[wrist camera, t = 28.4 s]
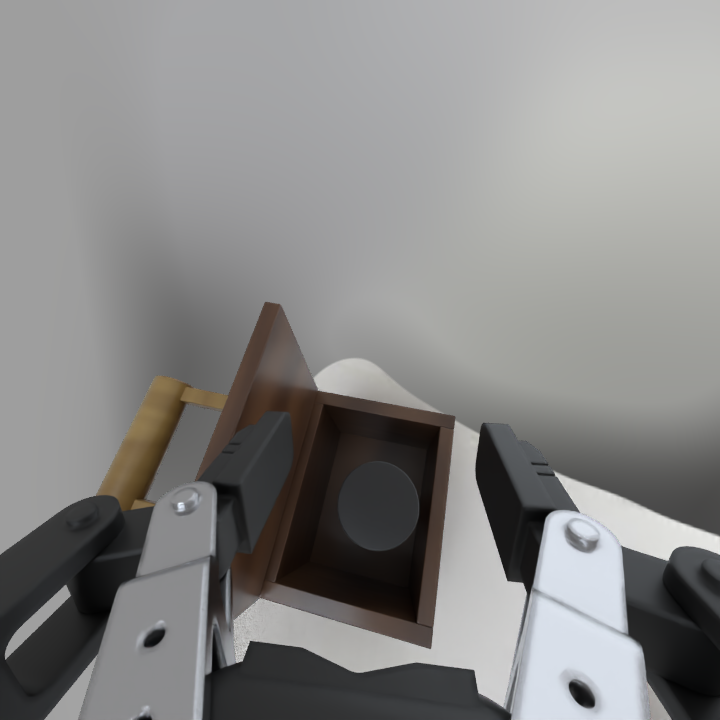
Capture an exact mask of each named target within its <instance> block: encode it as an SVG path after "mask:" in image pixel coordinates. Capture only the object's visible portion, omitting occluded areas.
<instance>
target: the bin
mask: <svg viewBox="0 0 720 720" xmlns="http://www.w3.org/2000/svg"><path fill="white" fill-rule="evenodd" d="M454 425H455V416H451V415H446V414H441V413H436V412H430V411H425V410H419V409H414V408H408V407H403V406H398V405H392V404H387V403H381V402H376V401H370V400H365V399H360V398H354V397H349V396H343V395H338V394H333V393H327V392H322V391H317V394H316V398H315V401H314V405H313V408H312V412H311V415H310V419H309V423H308V426H307V430H306V433H305V437H304V440H303V444H302V447H301V451H300V454H299V458H298V461H297V465H296V469H295V472H294V476H293V479H292V483H291V486H290V490H289V493H288V497H287V500H286V504H285V507H284V511H283V514H282V518H281V522H280V525H279V529H278V532H277V536H276V539H275V543H274V546H273V550H272V553H271V557H270V560H269V564H268V568H267V571H266V575H265V578H264V582H263V585H262V589H261V592H260V596H259V598H263V599H266V600H269V601H273V602H276V603H279V604H282V605H286V606H289V607H292V608H296V609H299V610H302V611H306V612H309V613H312V614H316V615H319V616H322V617H326V618H329V619H332V620H336V621H339V622H342V623H346V624H349V625H352V626H356V627H359V628H362V629H366V630H369V631H372V632H376V633H379V634H382V635H386V636H389V637H392V638H396V639H399V640H402V641H406V642H409V643H412V644H416V645H419V646H422V647H425V648H429V649H431V645H432V635H433V625H434V615H435V606H436V596H437V587H438V577H439V567H440V558H441V548H442V539H443V529H444V520H445V510H446V500H447V491H448V481H449V472H450V462H451V453H452V443H453V433H454V430H453V429H454ZM374 461H381V462H387V463H390V464H392V465H395V466H396V467H398V468H400V469H401V470H402V471H404V472H405V473H406V474H407V475H408V477H409V478H410V479H411V481H412V483H413V484H414V486H415V489H416V491H417V495H418V500H419V506H420V512H419V518H418V521H417V524H416V526H415V528H414V530H413V531H412V533H411V534H410V536H409V537H408V538H407V539H406V540H405V541H404V542H403V543H402V544H400V545H399V546H397V547H395V548H393V549H390V550H386V551H372V550H368V549H365V548H363V547H361V546H359V545H357V544H356V543H355V542H353V541H352V540H351V539H350V538H349V537H348V535H347V534H346V533H345V531H344V529H343V528H342V525H341V523H340V520H339V516H338V510H337V500H338V494H339V491H340V488H341V486H342V483H343V482H344V480H345V479H346V477H347V476H348V475H349V474H350V473H351V472H352V471H353V470H354V469H355V468H357V467H358V466H360V465H362V464H365V463H368V462H374Z"/></svg>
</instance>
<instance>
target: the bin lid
mask: <svg viewBox="0 0 720 720" xmlns="http://www.w3.org/2000/svg"><path fill="white" fill-rule="evenodd" d="M317 391H318V389H317V386H316V384H315V382H314V379H313V377H312V375H311V373H310V370H309V368H308V366H307V363H306V361H305V359H304V357H303V354H302V352H301V350H300V347H299V345H298V343H297V341H296V338H295V336H294V334H293V331H292V329H291V327H290V324H289V322H288V320H287V318H286V315H285V313H284V311H283V308H282V306H281V305H280V304H275V303H270V302H265V303H264V306H263V308H262V311H261V314H260V316H259V319H258V321H257V324H256V326H255V329H254V332H253V334H252V336H251V339H250V342H249V344H248V347H247V349H246V352H245V354H244V357H243V360H242V362H241V364H240V367H239V369H238V372H237V375H236V377H235V380H234V382H233V385H232V387H231V390H230V392H229V395H224V394H219V393H214V392H210V391H205V390H200V389H195V388H193V387H192V386H191V385H189V384H187V383H184V382H182V381H180V380H177V379H174V378H170V377H166V376H156V377H155V378H154V380H153V382H152V384H151V386H150V388H149V390H148V392H147V394H146V396H145V398H144V400H143V402H142V404H141V406H140V408H139V410H138V412H137V414H136V416H135V418H134V420H133V422H132V424H131V426H130V428H129V430H128V432H127V434H126V436H125V438H124V440H123V442H122V444H121V446H120V448H119V450H118V452H117V454H116V456H115V458H114V460H113V462H112V464H111V466H110V468H109V470H108V472H107V474H106V476H105V478H104V480H103V482H102V484H101V486H100V488H99V490H98V492H97V494H96V496H99V495H110V496H114V497H116V498H117V499H118V500H119V503H120V506H121V509H122V511H127V510H133V509H139V508H145V507H151V506H155V504H156V503H157V502H155V501H150V500H147V496H148V494H149V492H150V489H151V487H152V485H153V483H154V480H155V478H156V476H157V474H158V471H159V469H160V467H161V464H162V462H163V460H164V457H165V455H166V453H167V451H168V449H169V446H170V444H171V441H172V439H173V437H174V435H175V433H176V430H177V428H178V426H179V423H180V421H181V419H182V417H183V414H184V412H185V410H186V408H187V405H193V406H198V407H202V408H207V409H212V410H216V411H221V412H222V413H221V415H220V418H219V420H218V423H217V425H216V428H215V430H214V433H213V435H212V438H211V441H210V443H209V446H208V448H207V451H206V453H205V456H204V458H203V461H202V464H201V466H200V468H199V471H198V474H197V476H196V479H195V481H194V482H196V481H197V480H198V479H199V478H200V476H201V475H202V474H203V473H204V472H205V470H206V469H207V468H208V467H209V466H210V464H211V463H212V462H213V461H214V460H215V458H216V457H217V456H218V455H219V454H220V453H222V450H223V449H224V448H225V446H226V445H228V444H229V442H230V440H231V439H232V438H233V437H234V435H235V434H236V433H237V432H239V431H240V430H242V429H243V428H245V427H247V426H248V425H256V423H257V422H258V421H259V419H260V418H261V417H262V416H263V414H264V413H265V412H266V411H279V412H289V413H290V416H291V425H292V436H293V447H294V458H293V464H292V468H291V470H290V472H289V475H288V477H287V479H286V481H285V483H284V485H283V487H282V490H281V492H280V494H279V496H278V498H277V500H276V502H275V505H274V507H273V509H272V511H271V513H270V515H269V517H268V520H267V522H266V524H265V526H264V528H263V530H262V532H261V535H260V537H259V539H258V541H257V543H256V545H255V547H254V550H253V552H252V554H247V553H236V555H235V557H234V559H233V561H232V563H231V568H232V585H233V620H234V619H236V618H237V617H238V616H239V615H240V614H242V613H243V612H244V611H245V610H246V609H248V608H249V607H250V606H251V605H252V604H254V603H255V602H256V601H257V600H258V599H259V596H260V592H261V589H262V585H263V582H264V578H265V575H266V571H267V568H268V564H269V560H270V557H271V553H272V550H273V546H274V543H275V539H276V536H277V532H278V529H279V525H280V522H281V518H282V514H283V511H284V507H285V504H286V500H287V497H288V493H289V490H290V486H291V483H292V479H293V476H294V472H295V469H296V465H297V461H298V458H299V454H300V451H301V447H302V444H303V440H304V437H305V433H306V430H307V426H308V423H309V419H310V415H311V412H312V408H313V405H314V401H315V398H316V394H317Z"/></svg>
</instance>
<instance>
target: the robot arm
mask: <svg viewBox="0 0 720 720" xmlns="http://www.w3.org/2000/svg"><path fill="white" fill-rule="evenodd" d="M293 458H294V447H293V436H292V425H291V416H290V413H289V412H279V411H266V412H265V413H264V414H263V416H262V417H261V418H260V419H259V421H258V422H257V423H256V425H248V426H247V427H245V428H243V429H242V430H240V431H239V432H237V433H236V434H235V435H234V437H233V438H232V439H231V440H230V442H229V444H228V445H226V446H225V448H224V449H223V450H222V453H220V454H219V455H218V456H217V457H216V458H215V460H214V461H213V462H212V463H211V464H210V466H209V467H208V468H207V469H206V470H205V472H204V473H203V474H202V475H201V476H200V478H199V479H198V480H197V481H196V482H189V483H185V484H182V485H180V486H177V487H175V488H173V489H171V490H170V491H168V492H167V493H165V494H164V495H163V496H162V497H161V498H160V499H159V500H158V501H157V503H156V504H155V506H151V507H145V508H139V509H133V510H127V511H122V509H121V506H120V503H119V500H118V499H117V498H116V497H114V496H110V495H99V496H93V497H89V498H86V499H83V500H81V501H78V502H76V503H74V504H72V505H70V506H68V507H66V508H65V509H63V510H62V511H60V512H59V513H57V514H56V515H54V516H53V517H52V518H50V519H49V520H48V521H46V522H45V523H43V524H42V525H41V526H39V527H38V528H37V529H35V530H34V531H32V532H31V533H30V534H28V535H27V536H26V537H24V538H23V539H21V540H20V541H19V542H17V543H16V544H14V545H13V546H12V547H10V548H9V549H8V550H6V551H5V552H4V553H2V554H1V555H0V720H44V719H45V718H46V717H47V715H48V714H49V713H50V712H51V711H52V709H53V708H54V707H55V706H56V704H57V703H58V702H59V701H60V699H61V698H62V697H63V696H64V694H65V693H66V692H67V691H68V690H69V688H70V687H71V686H72V685H73V683H74V682H75V681H76V680H77V679H78V677H79V676H80V675H81V674H82V672H83V671H84V670H85V669H86V668H87V666H88V665H89V664H90V663H91V662H92V660H93V659H94V658H95V657H96V655H97V654H98V656H97V659H96V663H95V666H94V669H93V672H92V675H91V679H90V682H89V685H88V689H87V692H86V695H85V699H84V702H83V705H82V708H81V712H80V715H79V718H78V720H651V716H650V707H649V698H648V689H647V681H648V683H649V685H650V686H651V688H652V689H653V691H654V692H655V694H656V695H657V697H658V699H659V700H660V702H661V703H662V705H663V706H664V708H665V709H666V711H667V713H668V714H669V716H670V717H671V719H672V720H720V555H718V554H716V553H714V552H711V551H708V550H705V549H701V548H696V547H688V546H686V547H679V548H676V549H675V550H674V551H673V552H672V554H671V556H670V558H669V561H666V560H663V559H659V558H656V557H653V556H650V555H647V554H644V553H640V552H637V551H634V550H631V549H628V548H625V547H623V546H621V545H620V543H619V541H618V539H617V538H616V537H615V535H614V534H613V533H612V532H611V531H610V530H609V529H608V528H607V527H605V526H604V525H603V524H601V523H600V522H598V521H597V520H595V519H593V518H591V517H589V516H587V515H585V514H582V513H580V512H579V510H578V509H577V507H576V506H575V504H574V503H573V501H572V500H571V498H570V496H569V495H568V493H567V492H566V490H565V489H564V487H563V486H562V484H561V483H560V481H559V480H558V478H557V477H555V473H554V472H553V470H552V469H551V467H550V466H548V463H547V461H546V460H545V458H544V457H543V455H542V453H541V452H540V451H539V450H538V449H536V448H535V447H534V446H532V445H531V444H530V443H528V442H527V441H518V440H517V438H516V436H515V434H514V433H513V431H512V429H511V428H510V426H509V425H508V424H496V423H483V424H482V426H481V430H480V437H479V444H478V451H477V458H476V468H475V470H476V481H477V485H478V488H479V491H480V494H481V498H482V501H483V504H484V507H485V510H486V514H487V517H488V520H489V523H490V526H491V530H492V533H493V536H494V539H495V542H496V546H497V549H498V552H499V555H500V558H501V562H502V565H503V568H504V571H505V574H506V578H507V581H512V582H522V583H523V584H524V586H525V589H526V592H527V596H526V600H525V604H524V609H523V614H522V619H521V624H520V629H519V634H518V639H517V644H516V649H515V654H514V659H513V664H512V669H511V674H510V679H509V684H508V689H507V693H506V697H505V702H504V706H503V707H502V706H500V705H498V704H497V703H495V702H494V701H492V700H490V699H489V698H487V697H485V696H483V695H481V694H479V693H478V690H477V684H476V678H475V672H474V670H469V669H461V668H454V667H446V666H438V665H431V664H423V663H411V664H406V665H401V666H396V667H390V668H385V669H380V670H374V671H369V672H364V673H354V672H352V671H349V670H347V669H345V668H343V667H341V666H339V665H337V664H335V663H333V662H331V661H329V660H327V659H325V658H322V657H320V656H318V655H316V654H314V653H312V652H310V651H308V650H306V649H304V648H301V647H293V646H285V645H278V644H270V643H262V642H255V641H250V643H249V646H248V649H247V651H246V654H245V657H244V659H243V662H239V663H236V659H235V650H234V626H233V585H232V568H231V563H232V561H233V559H234V557H235V555H236V553H247V554H252V552H253V550H254V547H255V545H256V543H257V541H258V539H259V537H260V535H261V532H262V530H263V528H264V526H265V524H266V522H267V520H268V517H269V515H270V513H271V511H272V509H273V507H274V505H275V502H276V500H277V498H278V496H279V494H280V492H281V490H282V487H283V485H284V483H285V481H286V479H287V477H288V475H289V472H290V470H291V468H292V464H293ZM64 585H67V587H68V590H69V592H70V594H71V596H70V597H69V598H68V599H67V600H66V601H65V602H64V603H63V604H62V605H61V606H60V607H59V608H58V609H57V610H56V611H55V612H54V613H53V614H52V615H51V616H50V617H49V618H48V619H47V620H46V621H45V622H44V623H43V624H42V625H41V626H40V627H39V628H38V629H37V630H36V631H35V632H34V633H32V634H31V636H29V637H28V638H27V640H25V641H24V642H23V644H21V645H20V646H19V647H18V648H17V649H16V650H15V651H14V652H13V653H12V654H11V655H10V656H9V657H8V658H7V659H6V660H5V650H6V647H7V645H8V643H9V641H10V639H11V638H12V636H13V635H14V633H15V632H16V631H17V630H18V629H19V628H20V627H21V626H22V625H23V624H24V623H25V622H26V621H27V620H28V619H29V618H30V617H31V616H32V615H33V614H34V613H35V612H37V611H38V610H39V609H40V608H41V607H42V606H43V605H44V604H45V603H46V602H47V601H48V600H49V599H51V598H52V597H53V596H54V595H55V594H56V593H57V592H58V591H59V590H60V589H61V588H62V587H63V586H64Z"/></svg>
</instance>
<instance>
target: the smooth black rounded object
mask: <svg viewBox="0 0 720 720" xmlns="http://www.w3.org/2000/svg"><path fill="white" fill-rule="evenodd" d="M337 510H338V516H339V520H340V523H341V525H342V528H343V529H344V531H345V533H346V534H347V535H348V537H349V538H350V539H351V540H352V541H353V542H355V543H356V544H357V545H359V546H361V547H363V548H365V549H368V550H372V551H386V550H390V549H393V548H395V547H397V546H399V545H400V544H402V543H403V542H404V541H405V540H406V539H407V538H408V537H409V536H410V534H411V533H412V531H413V530H414V528H415V526H416V524H417V521H418V518H419V512H420V506H419V500H418V495H417V491H416V489H415V486H414V484H413V483H412V481H411V479H410V478H409V477H408V475H407V474H406V473H405V472H404V471H402V470H401V469H400V468H398V467H396V466H395V465H392V464H390V463H387V462H381V461H374V462H368V463H365V464H362V465H360V466H358V467H357V468H355V469H354V470H353V471H352V472H351V473H350V474H349V475H348V476H347V477H346V479H345V480H344V482H343V483H342V486H341V488H340V491H339V494H338V500H337Z"/></svg>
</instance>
